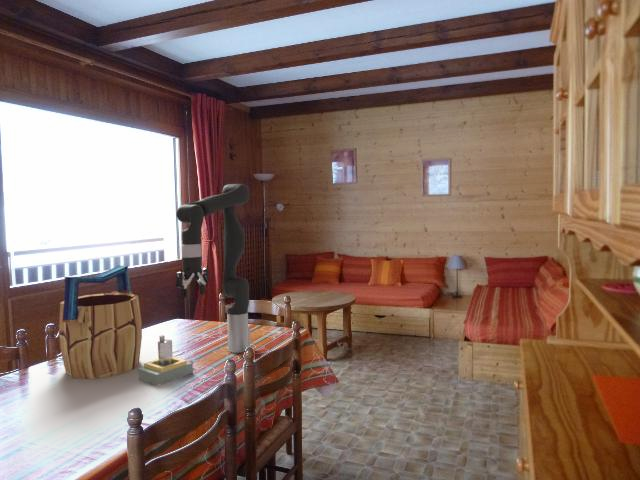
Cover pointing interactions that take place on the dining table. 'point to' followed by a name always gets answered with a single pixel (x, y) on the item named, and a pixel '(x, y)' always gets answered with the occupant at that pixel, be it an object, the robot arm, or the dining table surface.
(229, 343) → the robot arm
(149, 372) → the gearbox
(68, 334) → the bucket
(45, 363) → the dining table surface
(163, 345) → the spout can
